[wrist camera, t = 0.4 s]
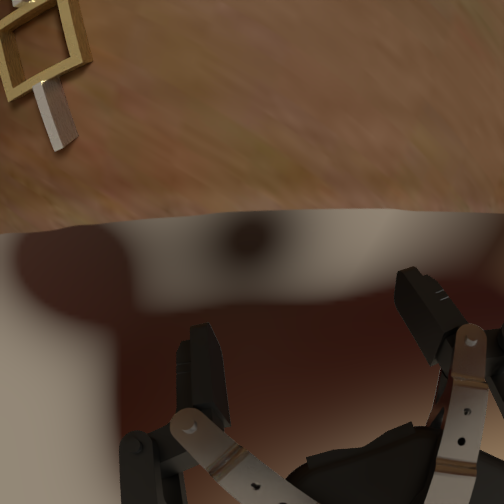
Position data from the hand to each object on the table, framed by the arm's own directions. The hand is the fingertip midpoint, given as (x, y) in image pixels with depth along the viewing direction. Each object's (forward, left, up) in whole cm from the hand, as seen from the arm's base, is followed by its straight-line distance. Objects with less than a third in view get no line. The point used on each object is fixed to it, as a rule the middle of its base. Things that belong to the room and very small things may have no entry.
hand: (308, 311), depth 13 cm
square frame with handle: (-19, -19, -28) cm, 39 cm away
